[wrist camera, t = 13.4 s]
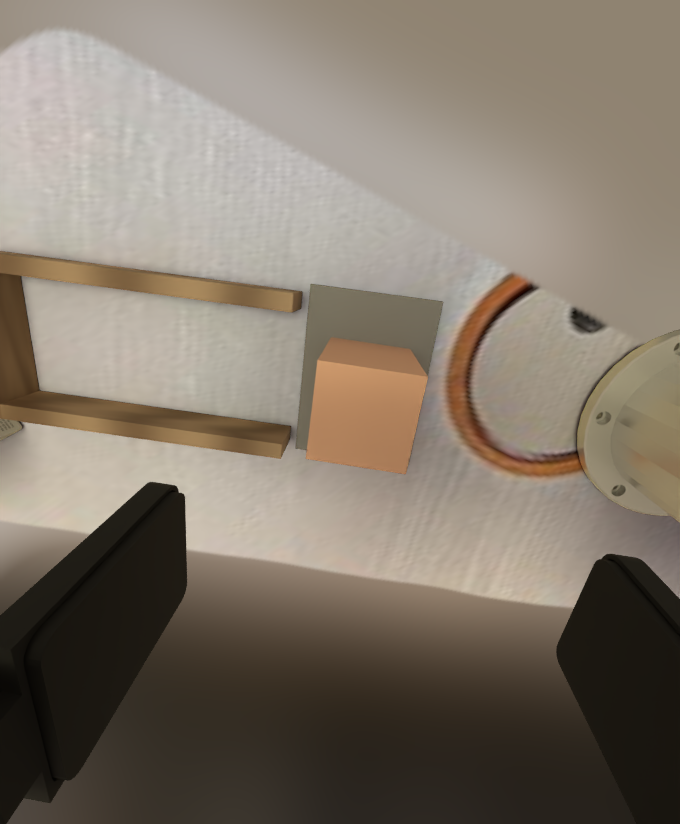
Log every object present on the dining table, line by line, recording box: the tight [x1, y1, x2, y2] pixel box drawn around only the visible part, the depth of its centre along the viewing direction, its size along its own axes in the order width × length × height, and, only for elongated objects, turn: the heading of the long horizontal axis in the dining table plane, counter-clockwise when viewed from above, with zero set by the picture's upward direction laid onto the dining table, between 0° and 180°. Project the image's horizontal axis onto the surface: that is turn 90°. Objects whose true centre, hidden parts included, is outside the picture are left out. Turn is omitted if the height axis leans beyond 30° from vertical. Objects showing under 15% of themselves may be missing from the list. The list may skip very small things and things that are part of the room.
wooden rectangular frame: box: [0, 251, 302, 459], centre depth 23 cm, size 19×10×3 cm, turn 83°
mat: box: [296, 284, 443, 465], centre depth 24 cm, size 8×11×1 cm
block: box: [306, 337, 428, 474], centre depth 21 cm, size 5×5×7 cm
